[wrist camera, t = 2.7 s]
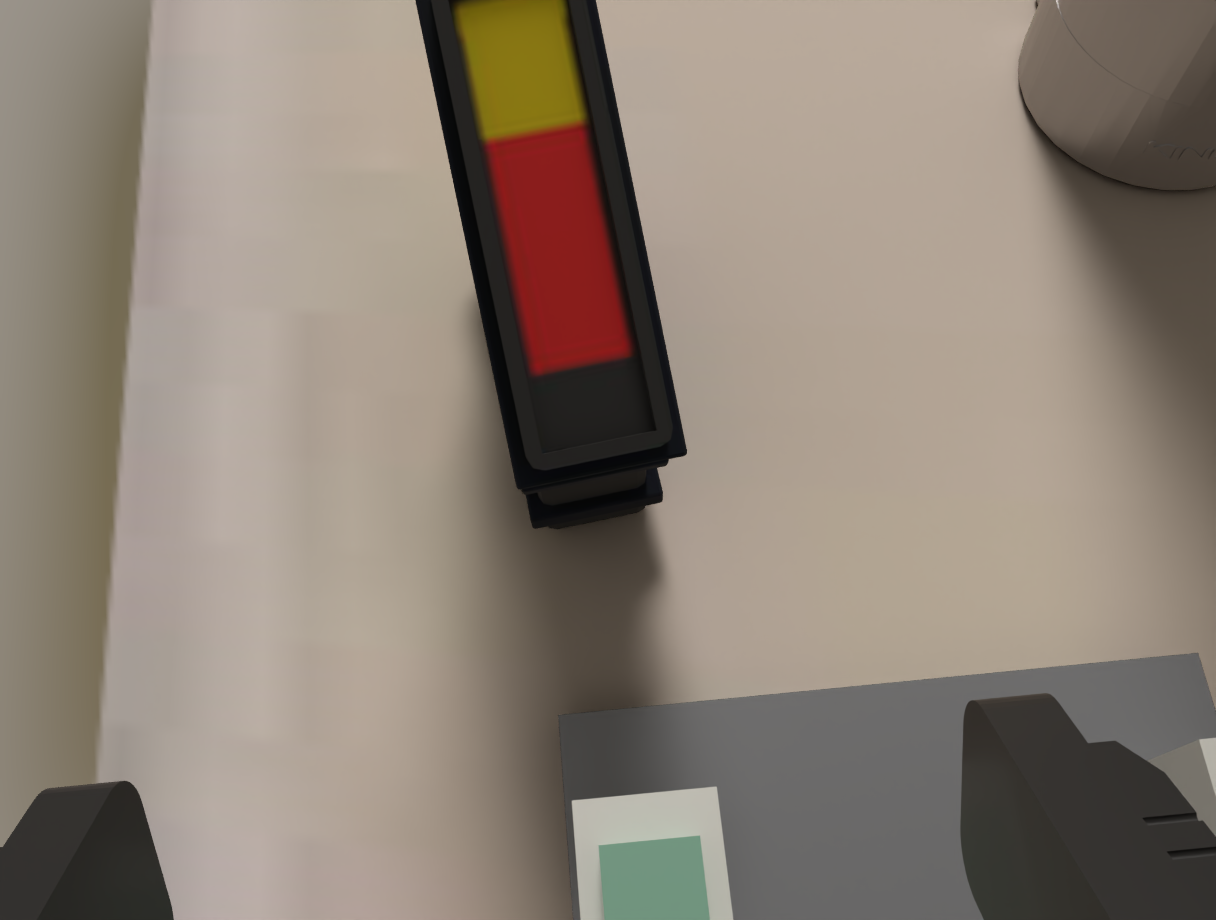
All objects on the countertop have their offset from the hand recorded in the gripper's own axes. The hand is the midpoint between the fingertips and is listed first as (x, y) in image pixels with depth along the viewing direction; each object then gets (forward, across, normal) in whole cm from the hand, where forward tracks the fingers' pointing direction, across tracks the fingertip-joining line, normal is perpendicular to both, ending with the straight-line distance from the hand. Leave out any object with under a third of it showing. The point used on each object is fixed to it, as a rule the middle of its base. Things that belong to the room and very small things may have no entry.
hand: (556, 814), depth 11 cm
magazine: (+25, 0, +4) cm, 25 cm away
